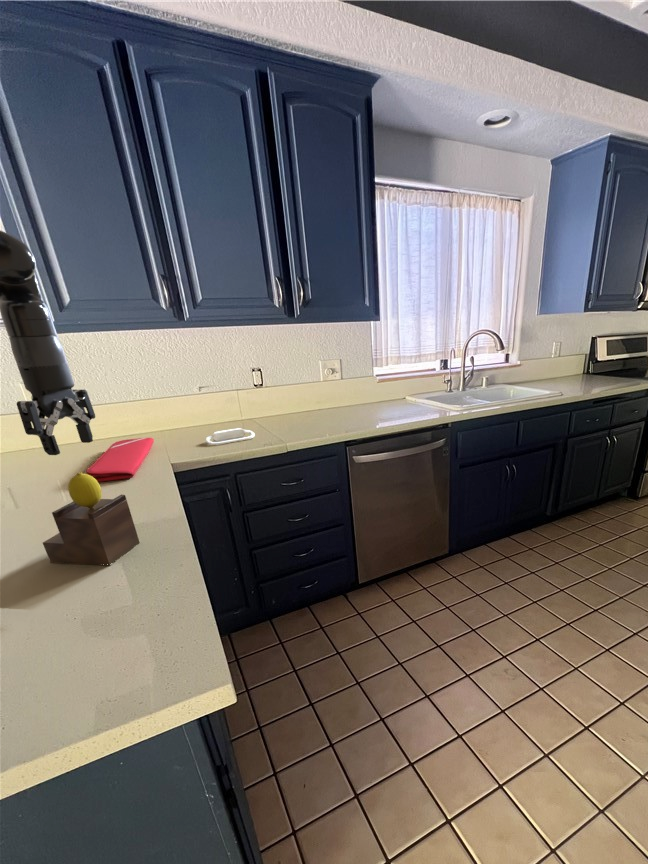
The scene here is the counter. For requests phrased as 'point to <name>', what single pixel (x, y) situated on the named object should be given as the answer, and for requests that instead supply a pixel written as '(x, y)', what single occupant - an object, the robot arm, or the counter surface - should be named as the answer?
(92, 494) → the lemon
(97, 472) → the folded red towel
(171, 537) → the counter surface
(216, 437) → the white butter dish
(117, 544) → the wooden step block
